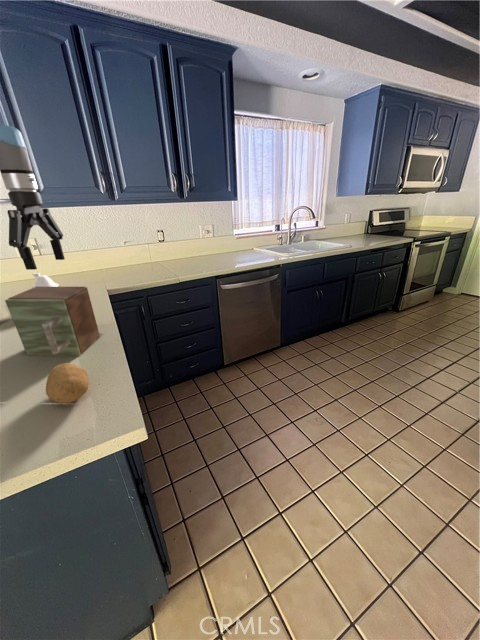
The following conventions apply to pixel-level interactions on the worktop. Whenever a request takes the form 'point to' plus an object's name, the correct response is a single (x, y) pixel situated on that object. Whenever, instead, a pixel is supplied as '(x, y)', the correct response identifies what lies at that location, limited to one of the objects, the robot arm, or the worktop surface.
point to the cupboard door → (44, 326)
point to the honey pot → (44, 281)
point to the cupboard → (71, 310)
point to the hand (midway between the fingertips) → (47, 264)
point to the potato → (66, 383)
